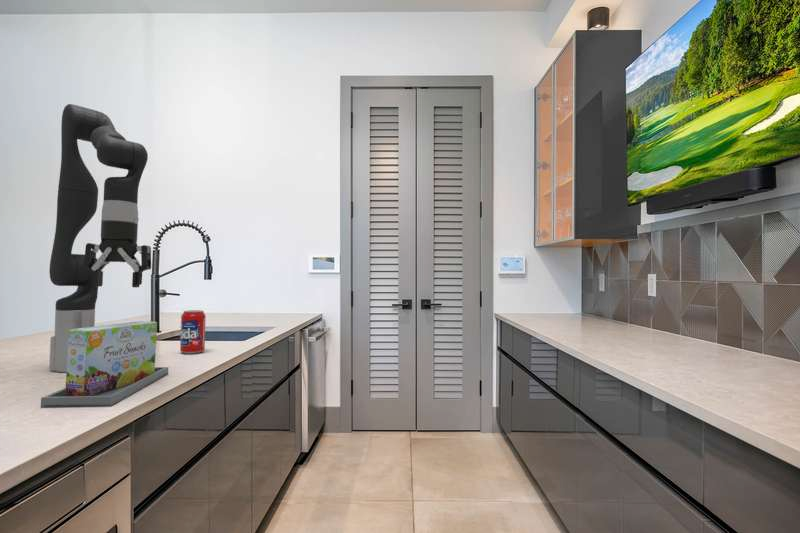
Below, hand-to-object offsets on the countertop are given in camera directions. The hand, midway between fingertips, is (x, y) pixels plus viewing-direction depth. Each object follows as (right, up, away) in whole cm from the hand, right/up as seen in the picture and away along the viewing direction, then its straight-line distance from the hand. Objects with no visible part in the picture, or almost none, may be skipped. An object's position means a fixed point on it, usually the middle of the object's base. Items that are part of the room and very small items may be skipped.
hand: (117, 286), depth 105 cm
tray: (-1, -25, 0) cm, 25 cm away
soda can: (-5, -26, +48) cm, 55 cm away
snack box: (0, -25, 0) cm, 25 cm away
